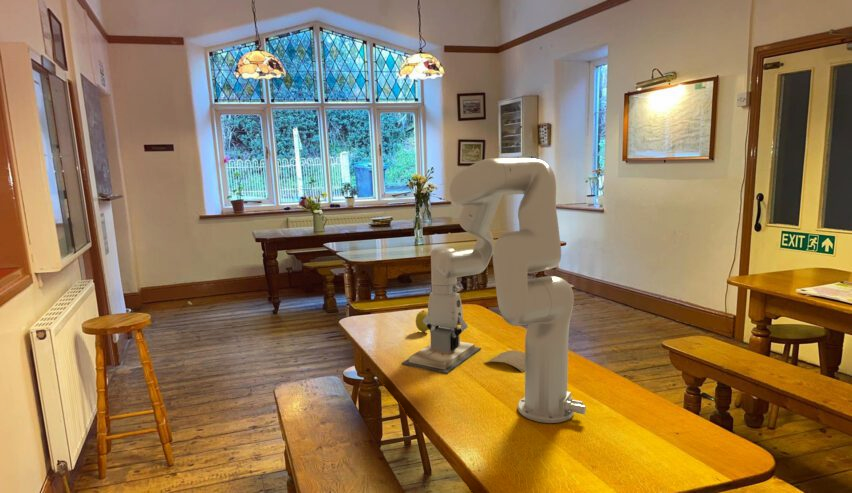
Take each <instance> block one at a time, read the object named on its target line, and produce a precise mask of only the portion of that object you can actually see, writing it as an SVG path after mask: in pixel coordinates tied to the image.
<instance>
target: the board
mask: <svg viewBox="0 0 852 493" xmlns="http://www.w3.org/2000/svg"><path fill="white" fill-rule="evenodd" d="M481 350H482V347H480V346H479V347H478V346H475V343H472V342H471V343H470V342H464V341H460V346H459V347H457V348H456V349H455V350H453V351H451V352H450V353H448V354H443V353H438V352H433V351H431V343H430V344H428V345H427V346H425V347H423V348H422V349H420V350H418V351H417V352H414V353H413V354H411V355H409V356H408V358H407V359H406V360H404V361H402V362H401V365H402V366H403V365H404V366H407V367H412V368H417V369H421V370H424V371H425V370H426V371H431V372H436V373H439V374H446V375H448V374H449V373H451V372H452V371H454V370H455V369H457V368H458V367H459V366H460V365H462V364H463V363H465V362H466V361H468V359H470V358H472V356H474V355H475V354H477V353H478V352H479V351H481Z"/></svg>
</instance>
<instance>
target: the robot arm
mask: <svg viewBox="0 0 852 493" xmlns="http://www.w3.org/2000/svg"><path fill="white" fill-rule="evenodd" d="M449 184H450V185H449V196H450V199H451V201H452V202H453V203H454V205H458V206H463V207H462V209H461V211H460V215H459V218H458V223H459V225H460V227H461V228H462V229H463V230H464V231H465V232H467V233H469V235H473V236H476V237H477V239H476V242H475V243H474V246H473V248H465V249H458V250H456V249H455V248H453V247H448V246H440V247H435V248H433V249H432V250H431V252H430V269H431V270H430V272H431V278H430V279H431V282H430V283H431V292H430V293H429V297H428V303H427V312H428V314H427V316H426V317H425V318H424V319H423V322H424V324H425V325H427V328H428V329H429V330H428V331H429V332H431V331H433V330H435V329H437V328H439V327H447V328H450V331H451V334H452V337H451V350H455V349H456V348H457V347H458V336H459V335H461V334H462V333H463V332H465V331H466V330H467V329H468V327H469V326H468V324H467V323H466V320H464V314H463V312H464V311H463V303H462V299H461V294H460V293H458V292H460V291H461V290H462V289H461V286H459V285H458V283H457V282H458V280H457V278H462V277H466V276H467V277H468V276H474V275H479V274H482V273H483V272H484V271H485V270H486V268H487V267H488V265H489V263H490V261H491V260H492V266H493V274H494V283H495V291H496V298H497V299H496V300H497V305H498V309H499V313H500V315H501V317H502V319H503V320H504V321H505V322H506V323H507V324H508V325H510V326H514V327H521V326H526V325H527V329H526V331H525V339H524V344H525V345H524V349H525V350H524V353H525V372H524V397H523V398H521V399H520V400H519V401H518V403H517V410H518V412H519V413H520V415H521V416H523V417H525V418H526V419H529V420H530V421H534V422H538V423H544V424H545V423H546V424H558V423H563V422H566V421H569V420H570V419H572V417H573V416H574V413H577V414H580V415H585V414H586V410H587V409H586V408H587V406H586V405H584V401H582V400H580V399H579V400H578V399H577V400H576V399H573V398H572V392H571V391H568V375H569V374H568V366H569V363H568V362H569V336H570V335H569V332H570V323H571V317H572V314H573V309H574V303H575V295H574V290H573V288H572V286H571V285H570V283H569V282H568V281H567V280H565V279H564V278H562V277H558V276H555V275H551V276H550V275H548V276H540V277H534V278H530V279H528V278H529V277H528V274H532V273H537V272H538V273H539V272H544V271H549V270H552V269H554V268H556V267H557V266H558V265H559V263H560V262H561V258H562V247H561V238H560V237H561V235H560V228H559V221H558V213H557V205H556V204H557V203H556V202H557V182H556V176H555V173H554V171H553V168H552V167H551V166H550V165H549V164H548V163H547V162H545V161H544V160H542V159H537V158H533V157H500V158H499V157H496V158H493V157H491V158H485V159H482V160H478V161H477V162H475V163H473V164H471V165H469V166H467V167H464V168H463V169H461V170H459V171H458V172H457V173H455V175H454V176H453V178H452V179H451V182H450V183H449ZM512 195H513V196H514V195H523V197H522V198H521V200H520V202H519V206H518V210H517V218H518V227H519V228H518V230H514V231H508V232H506V233H503V234H501V235H500V236H499V237H498V238H497V239H496V241H495V240H494V236H493V233H492V232H491V230H490V226H491V225H492V223H493V221H494V220H493V219H494V218H495V215H496V213H497V210H498V208H499V205H500V203H501V201H502V199H503V196H512ZM494 241H495V243H494ZM491 258H492V259H491ZM459 326H460V327H459ZM458 327H459V329H458Z"/></svg>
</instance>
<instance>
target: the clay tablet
mask: <svg viewBox="0 0 852 493" xmlns="http://www.w3.org/2000/svg"><path fill="white" fill-rule="evenodd" d="M490 362H495V363H496V362H498V363H505V364H507V365H510V366H513V367H514V368H516V369H518V370H519V371H520V372H521V373H522V374H523V373H524V374H525V352H522V351H521V350H520V351H518V350H506V351H503V352H501V353H499V354H497V355H496V356H494V357H493V358H491V359H489V360H487V361H486V363H490Z"/></svg>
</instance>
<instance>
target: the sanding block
mask: <svg viewBox="0 0 852 493" xmlns="http://www.w3.org/2000/svg"><path fill="white" fill-rule="evenodd" d="M458 329H460V326H458ZM429 332H430V331H429ZM460 335H461V334H460ZM460 335H459V336H458V347H459V346H460V342H461V337H460ZM451 337H452V334H451V331H450V328H447V327H440V326H439V328H437V329H435V330H433V331H431V332H430V344H431V351H433V352H438V353H443V354H448V353H450V352H451V351H453V350H451Z"/></svg>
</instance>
